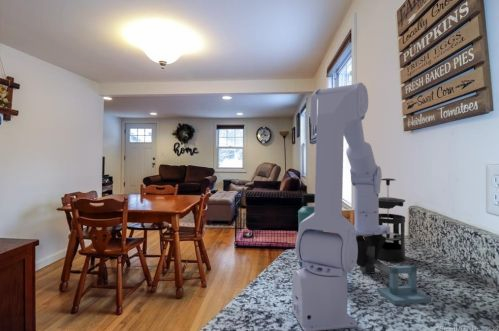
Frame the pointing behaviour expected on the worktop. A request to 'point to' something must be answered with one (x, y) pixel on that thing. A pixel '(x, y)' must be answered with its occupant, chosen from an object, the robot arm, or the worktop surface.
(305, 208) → the beverage bottle
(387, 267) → the hook rod
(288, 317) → the worktop surface
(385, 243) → the french press
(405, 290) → the eye bracket
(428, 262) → the worktop surface
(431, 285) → the worktop surface
